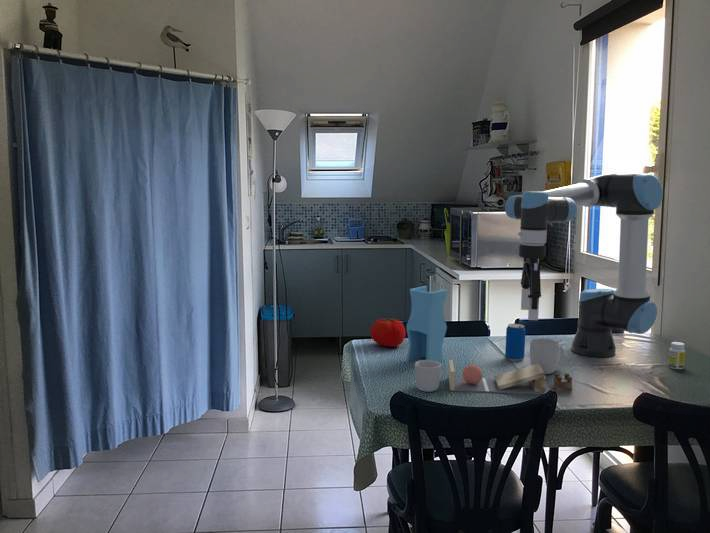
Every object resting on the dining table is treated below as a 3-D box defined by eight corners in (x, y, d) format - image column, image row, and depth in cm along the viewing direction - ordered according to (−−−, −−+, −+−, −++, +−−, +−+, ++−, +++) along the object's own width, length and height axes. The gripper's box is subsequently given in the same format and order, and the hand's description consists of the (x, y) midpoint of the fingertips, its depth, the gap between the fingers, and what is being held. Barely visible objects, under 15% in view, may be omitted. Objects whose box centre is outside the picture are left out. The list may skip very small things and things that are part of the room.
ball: (483, 378, 199) (478, 360, 198) (485, 384, 193) (480, 365, 192) (464, 382, 199) (459, 364, 199) (466, 389, 194) (460, 370, 193)
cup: (410, 382, 199) (410, 357, 197) (435, 381, 199) (436, 356, 198) (416, 394, 188) (417, 368, 187) (443, 393, 189) (444, 367, 188)
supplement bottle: (682, 366, 217) (684, 342, 216) (684, 370, 213) (687, 345, 212) (667, 364, 219) (669, 340, 218) (669, 368, 214) (671, 344, 213)
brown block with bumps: (568, 386, 196) (569, 372, 195) (572, 391, 191) (573, 377, 190) (553, 386, 196) (554, 372, 195) (556, 391, 192) (557, 376, 191)
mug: (541, 377, 205) (543, 346, 203) (523, 368, 213) (524, 339, 211) (572, 372, 210) (574, 342, 208) (553, 364, 218) (555, 336, 216)
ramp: (539, 383, 199) (540, 363, 198) (545, 393, 190) (546, 372, 189) (494, 381, 200) (495, 361, 199) (497, 391, 191) (498, 370, 190)
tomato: (411, 344, 241) (411, 317, 239) (395, 352, 231) (395, 323, 229) (380, 339, 248) (381, 312, 246) (364, 346, 238) (364, 319, 236)
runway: (545, 381, 200) (546, 363, 199) (553, 395, 188) (554, 375, 187) (448, 378, 203) (448, 359, 202) (450, 390, 191) (450, 371, 190)
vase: (445, 360, 221) (447, 289, 218) (428, 366, 214) (430, 293, 211) (422, 354, 228) (424, 285, 224) (405, 360, 221) (407, 289, 217)
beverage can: (524, 362, 220) (526, 328, 218) (505, 361, 222) (506, 327, 220) (523, 356, 227) (525, 323, 225) (504, 355, 228) (506, 322, 226)
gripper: (513, 239, 201) (510, 305, 204) (526, 248, 176) (522, 324, 179) (538, 239, 200) (534, 306, 203) (554, 249, 175) (550, 324, 179)
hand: (529, 314), depth 191 cm, fingers open, 13 cm apart
